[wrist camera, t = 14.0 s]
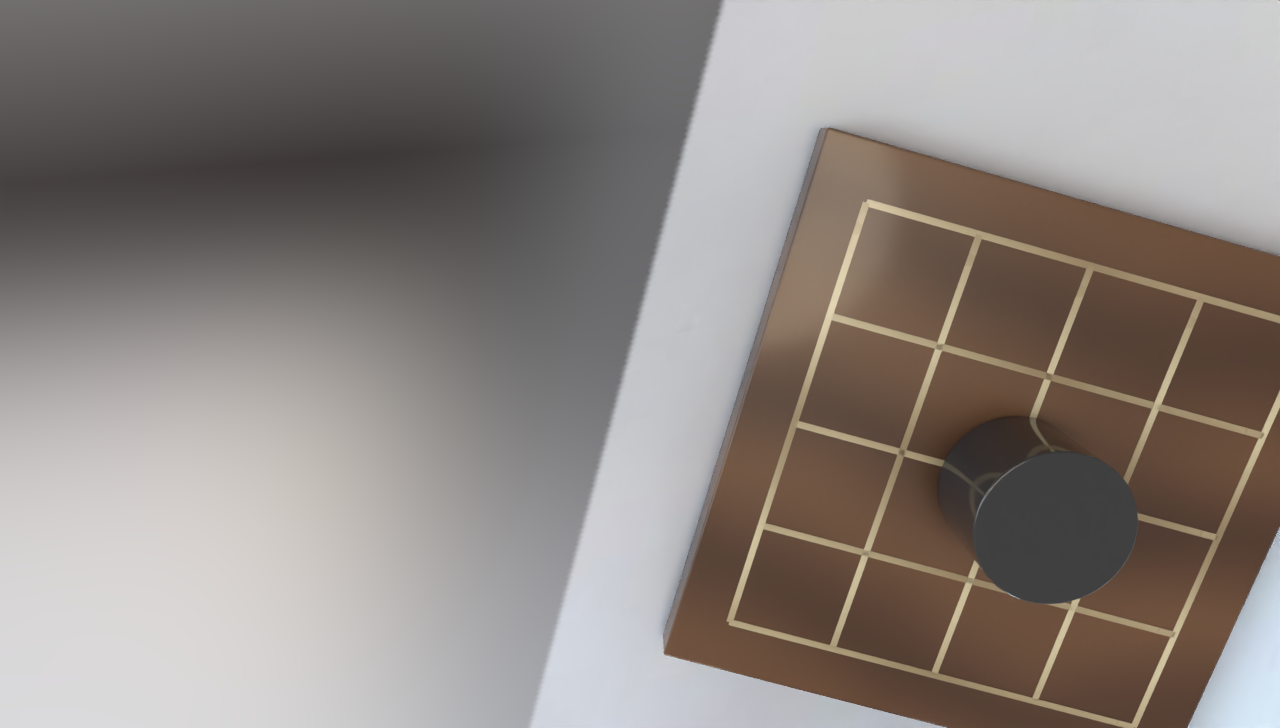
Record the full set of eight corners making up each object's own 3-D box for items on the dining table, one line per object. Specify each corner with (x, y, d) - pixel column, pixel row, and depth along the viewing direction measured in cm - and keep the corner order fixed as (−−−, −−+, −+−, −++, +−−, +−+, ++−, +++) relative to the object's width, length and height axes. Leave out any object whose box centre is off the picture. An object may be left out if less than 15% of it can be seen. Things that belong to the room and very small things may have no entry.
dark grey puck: (908, 473, 34) (941, 515, 30) (1032, 386, 33) (1082, 419, 29) (989, 579, 35) (1030, 634, 31) (1111, 497, 34) (1170, 543, 30)
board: (819, 127, 33) (828, 126, 32) (1358, 281, 34) (1391, 288, 32) (662, 635, 37) (663, 655, 36) (1143, 759, 38) (1162, 784, 37)
